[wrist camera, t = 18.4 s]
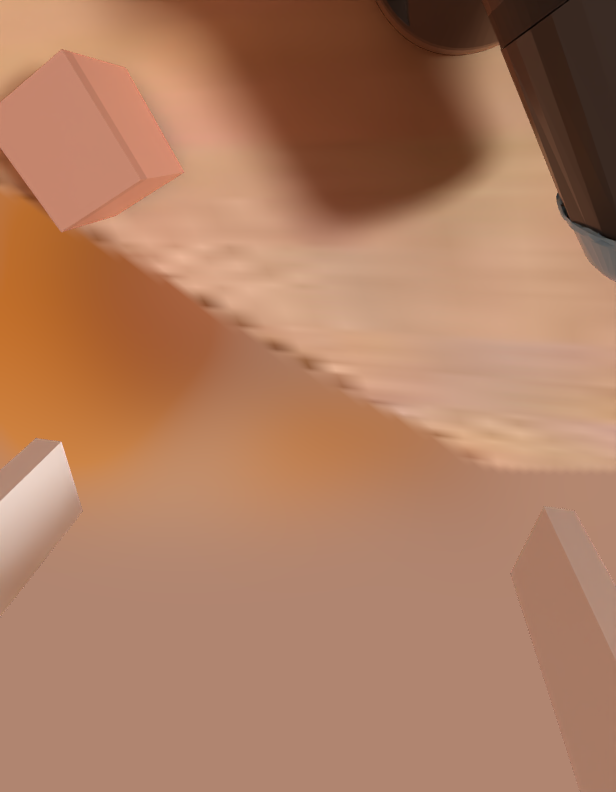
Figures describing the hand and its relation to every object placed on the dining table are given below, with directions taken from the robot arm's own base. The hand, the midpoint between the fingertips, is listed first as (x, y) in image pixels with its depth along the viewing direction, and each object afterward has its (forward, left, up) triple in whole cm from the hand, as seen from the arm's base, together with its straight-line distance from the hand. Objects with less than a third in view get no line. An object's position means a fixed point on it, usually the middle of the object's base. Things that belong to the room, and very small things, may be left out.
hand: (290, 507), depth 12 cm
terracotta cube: (-7, -20, -31) cm, 37 cm away
